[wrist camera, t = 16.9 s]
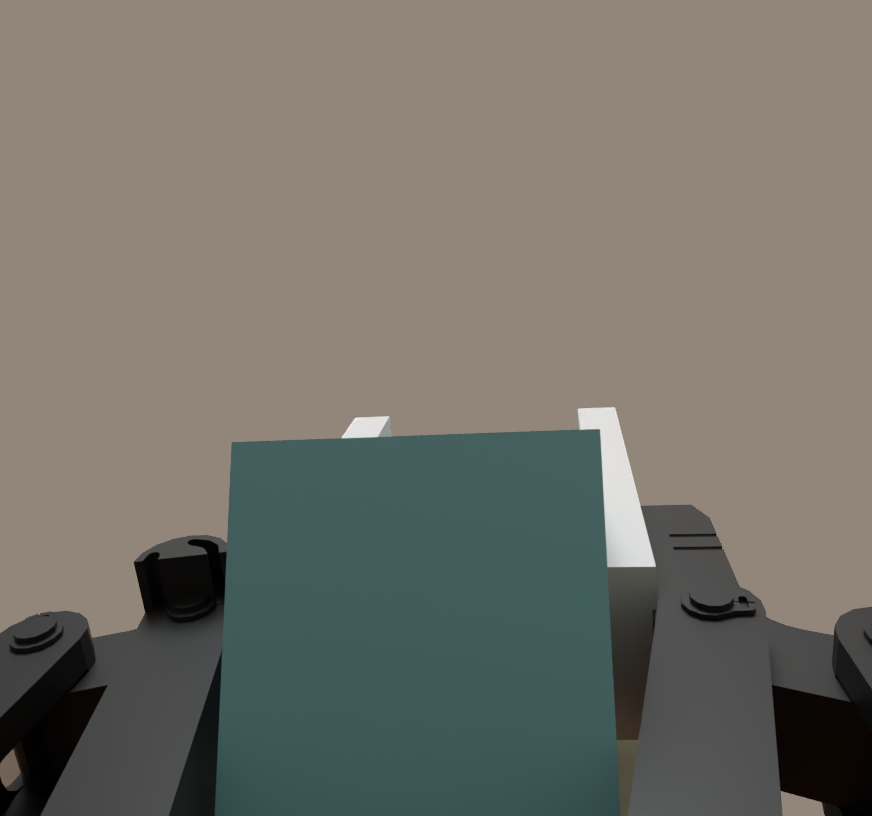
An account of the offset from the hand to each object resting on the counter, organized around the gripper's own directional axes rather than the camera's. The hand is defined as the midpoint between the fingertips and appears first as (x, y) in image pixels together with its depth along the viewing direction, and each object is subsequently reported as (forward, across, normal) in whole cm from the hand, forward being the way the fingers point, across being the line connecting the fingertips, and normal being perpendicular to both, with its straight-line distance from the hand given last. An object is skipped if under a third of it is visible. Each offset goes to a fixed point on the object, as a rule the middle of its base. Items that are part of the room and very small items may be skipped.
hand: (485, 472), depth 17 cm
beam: (+3, 0, -7) cm, 8 cm away
